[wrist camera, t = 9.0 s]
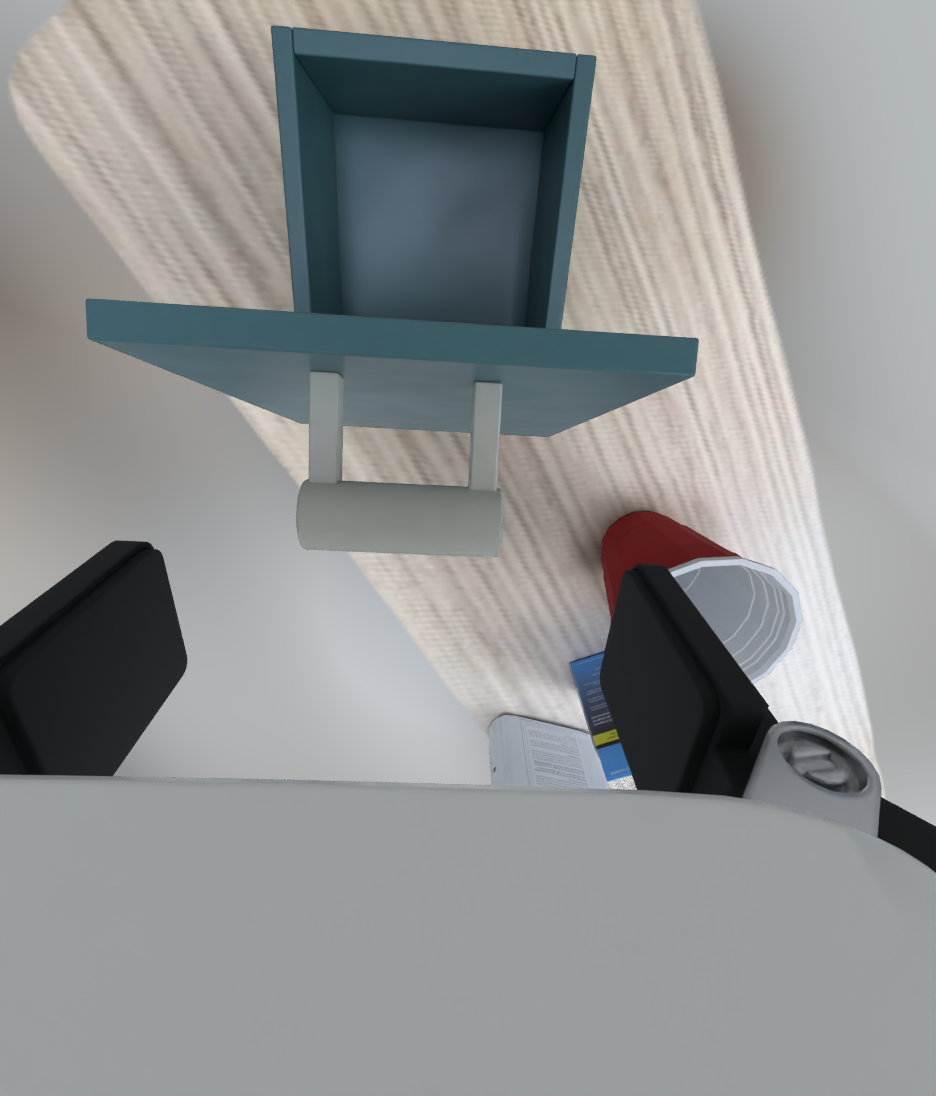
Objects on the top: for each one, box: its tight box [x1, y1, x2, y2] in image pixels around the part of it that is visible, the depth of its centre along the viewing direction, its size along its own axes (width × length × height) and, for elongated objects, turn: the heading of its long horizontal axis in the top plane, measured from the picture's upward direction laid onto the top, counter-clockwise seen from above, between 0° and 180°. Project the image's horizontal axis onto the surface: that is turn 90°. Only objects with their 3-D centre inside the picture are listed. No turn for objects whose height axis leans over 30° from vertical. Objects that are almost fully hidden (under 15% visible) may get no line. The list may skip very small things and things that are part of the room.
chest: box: [271, 26, 596, 329], centre depth 27 cm, size 15×13×8 cm
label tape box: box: [569, 653, 632, 782], centre depth 39 cm, size 9×4×12 cm, turn 110°
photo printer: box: [489, 715, 610, 789], centre depth 42 cm, size 10×4×12 cm, turn 72°
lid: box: [86, 299, 699, 557], centre depth 18 cm, size 15×13×5 cm
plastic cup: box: [601, 511, 803, 684], centre depth 34 cm, size 11×11×12 cm
